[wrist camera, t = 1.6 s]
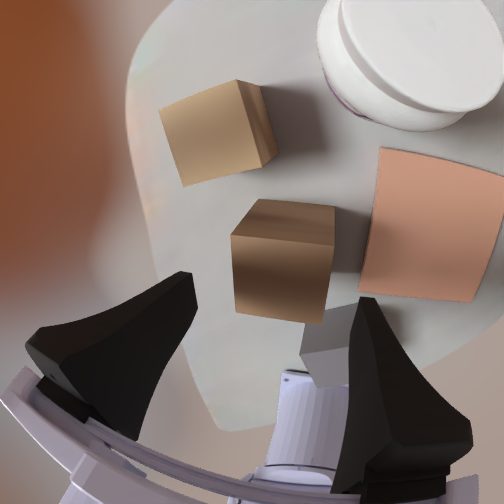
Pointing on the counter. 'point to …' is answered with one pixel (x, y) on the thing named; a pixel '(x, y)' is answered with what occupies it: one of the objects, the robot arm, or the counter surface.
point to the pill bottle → (411, 59)
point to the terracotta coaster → (430, 227)
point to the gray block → (329, 347)
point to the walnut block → (283, 260)
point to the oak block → (219, 132)
